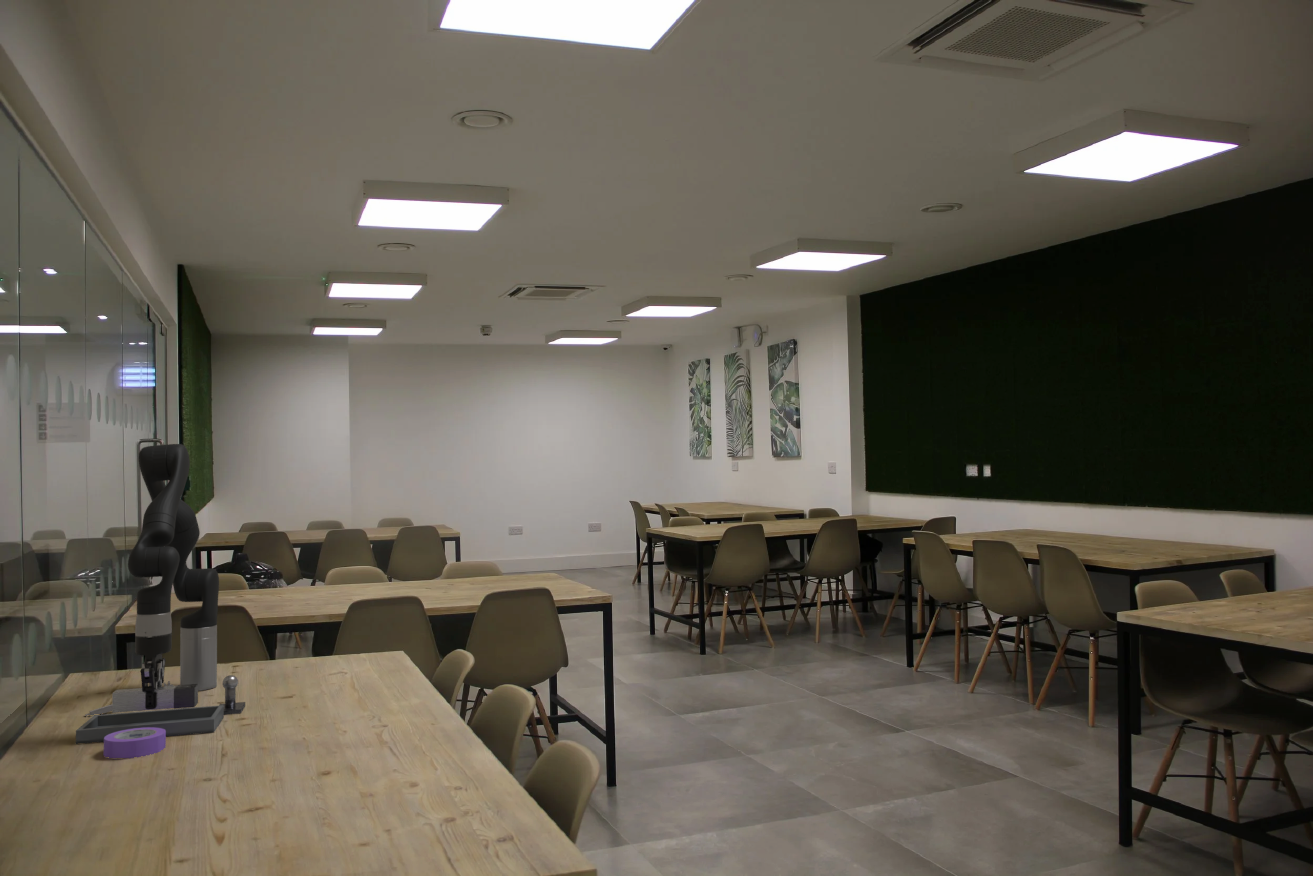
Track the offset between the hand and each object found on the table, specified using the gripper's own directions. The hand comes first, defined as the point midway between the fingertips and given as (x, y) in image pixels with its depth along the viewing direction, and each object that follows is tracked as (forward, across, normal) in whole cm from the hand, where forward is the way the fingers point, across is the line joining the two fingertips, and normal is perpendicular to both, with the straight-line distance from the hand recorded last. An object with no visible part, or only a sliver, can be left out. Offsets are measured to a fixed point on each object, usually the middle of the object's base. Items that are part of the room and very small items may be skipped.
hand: (153, 706), depth 217 cm
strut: (0, 0, 0) cm, 0 cm away
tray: (+5, 0, 0) cm, 5 cm away
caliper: (+6, -24, -10) cm, 27 cm away
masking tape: (+6, +17, 0) cm, 18 cm away
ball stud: (+5, -14, +15) cm, 21 cm away
